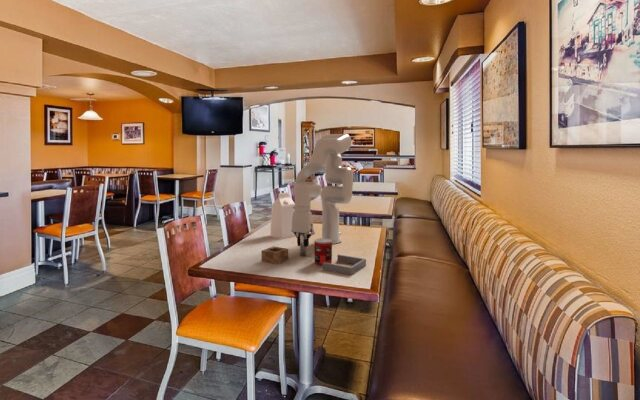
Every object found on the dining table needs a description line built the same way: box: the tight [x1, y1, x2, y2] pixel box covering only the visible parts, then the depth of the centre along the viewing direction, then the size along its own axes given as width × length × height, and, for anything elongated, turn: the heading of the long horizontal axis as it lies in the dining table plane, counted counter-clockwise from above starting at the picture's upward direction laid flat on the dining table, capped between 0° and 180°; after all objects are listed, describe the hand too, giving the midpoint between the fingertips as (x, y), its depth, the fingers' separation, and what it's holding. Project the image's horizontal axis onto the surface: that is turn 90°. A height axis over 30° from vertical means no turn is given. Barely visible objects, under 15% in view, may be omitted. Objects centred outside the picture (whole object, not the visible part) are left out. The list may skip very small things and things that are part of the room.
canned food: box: [313, 237, 333, 267], centre depth 168 cm, size 8×8×11 cm
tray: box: [321, 254, 367, 276], centre depth 163 cm, size 15×14×3 cm
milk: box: [269, 192, 296, 240], centre depth 222 cm, size 12×12×26 cm
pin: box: [299, 233, 307, 257], centre depth 181 cm, size 3×3×12 cm
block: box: [260, 246, 290, 265], centre depth 174 cm, size 9×9×5 cm
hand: (303, 245), depth 181 cm, fingers closed on pin, 3 cm apart
